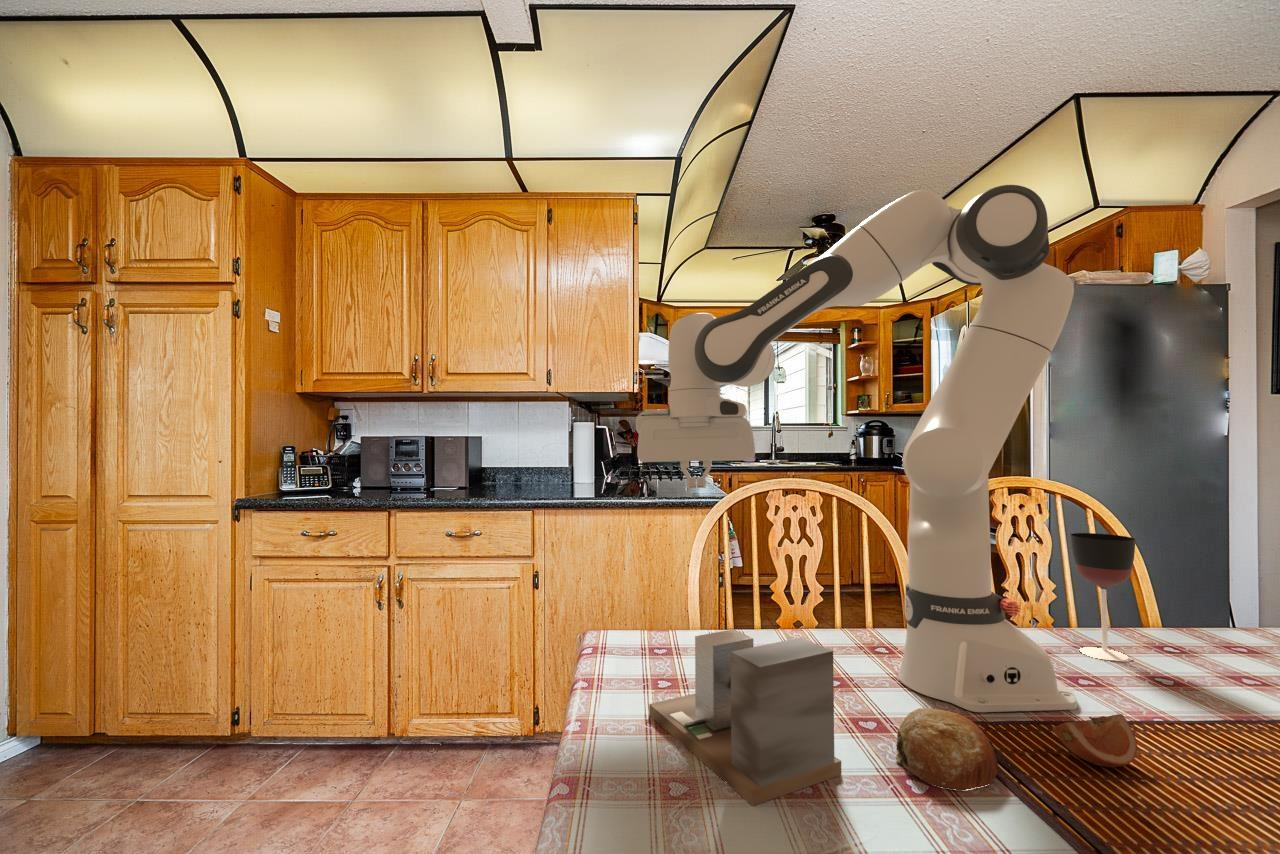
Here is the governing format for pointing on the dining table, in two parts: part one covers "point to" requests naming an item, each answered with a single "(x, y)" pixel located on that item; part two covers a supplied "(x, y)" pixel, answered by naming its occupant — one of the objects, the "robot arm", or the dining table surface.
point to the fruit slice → (1100, 740)
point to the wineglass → (1103, 574)
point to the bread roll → (945, 749)
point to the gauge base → (766, 721)
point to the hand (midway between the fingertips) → (696, 487)
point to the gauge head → (715, 676)
